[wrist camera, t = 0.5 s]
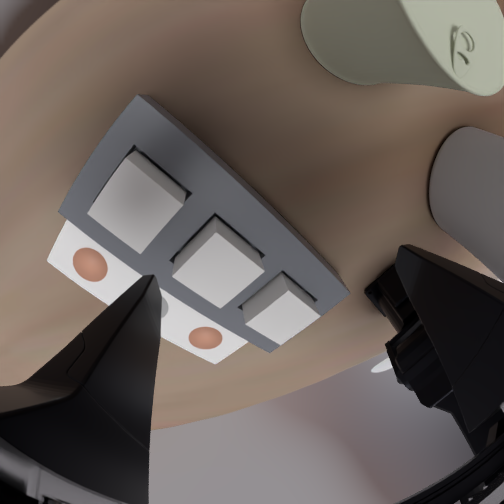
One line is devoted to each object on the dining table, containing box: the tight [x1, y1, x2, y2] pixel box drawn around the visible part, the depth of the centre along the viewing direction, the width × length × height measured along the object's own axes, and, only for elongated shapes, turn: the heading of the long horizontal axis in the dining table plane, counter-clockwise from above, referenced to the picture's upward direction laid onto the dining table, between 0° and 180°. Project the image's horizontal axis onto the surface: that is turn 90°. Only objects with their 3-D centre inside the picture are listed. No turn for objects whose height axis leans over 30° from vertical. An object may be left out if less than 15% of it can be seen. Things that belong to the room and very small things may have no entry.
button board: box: [58, 94, 350, 353], centre depth 21 cm, size 23×10×3 cm, turn 43°
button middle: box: [172, 216, 265, 309], centre depth 19 cm, size 4×4×2 cm
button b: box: [242, 272, 321, 345], centre depth 22 cm, size 4×4×2 cm
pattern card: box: [47, 220, 248, 364], centre depth 25 cm, size 22×6×1 cm, turn 43°
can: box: [301, 0, 504, 96], centre depth 10 cm, size 9×9×12 cm
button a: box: [87, 150, 186, 254], centre depth 16 cm, size 4×4×2 cm
